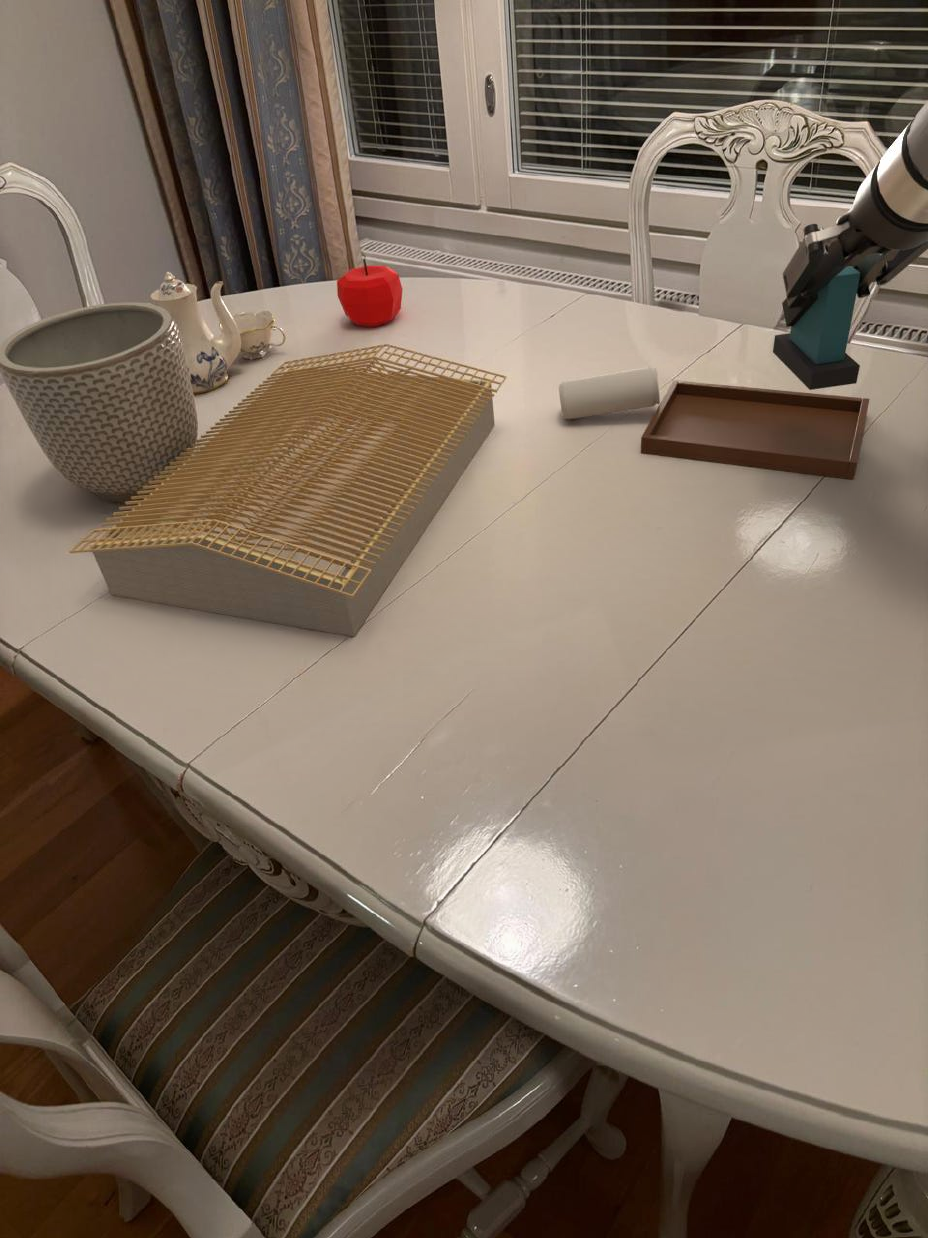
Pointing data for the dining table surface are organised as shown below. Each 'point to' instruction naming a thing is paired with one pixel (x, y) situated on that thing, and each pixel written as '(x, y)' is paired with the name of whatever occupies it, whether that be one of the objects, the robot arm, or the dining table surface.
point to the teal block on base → (823, 336)
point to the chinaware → (202, 348)
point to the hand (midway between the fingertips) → (804, 311)
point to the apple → (370, 294)
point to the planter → (104, 394)
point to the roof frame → (265, 582)
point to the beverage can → (609, 393)
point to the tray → (759, 428)
